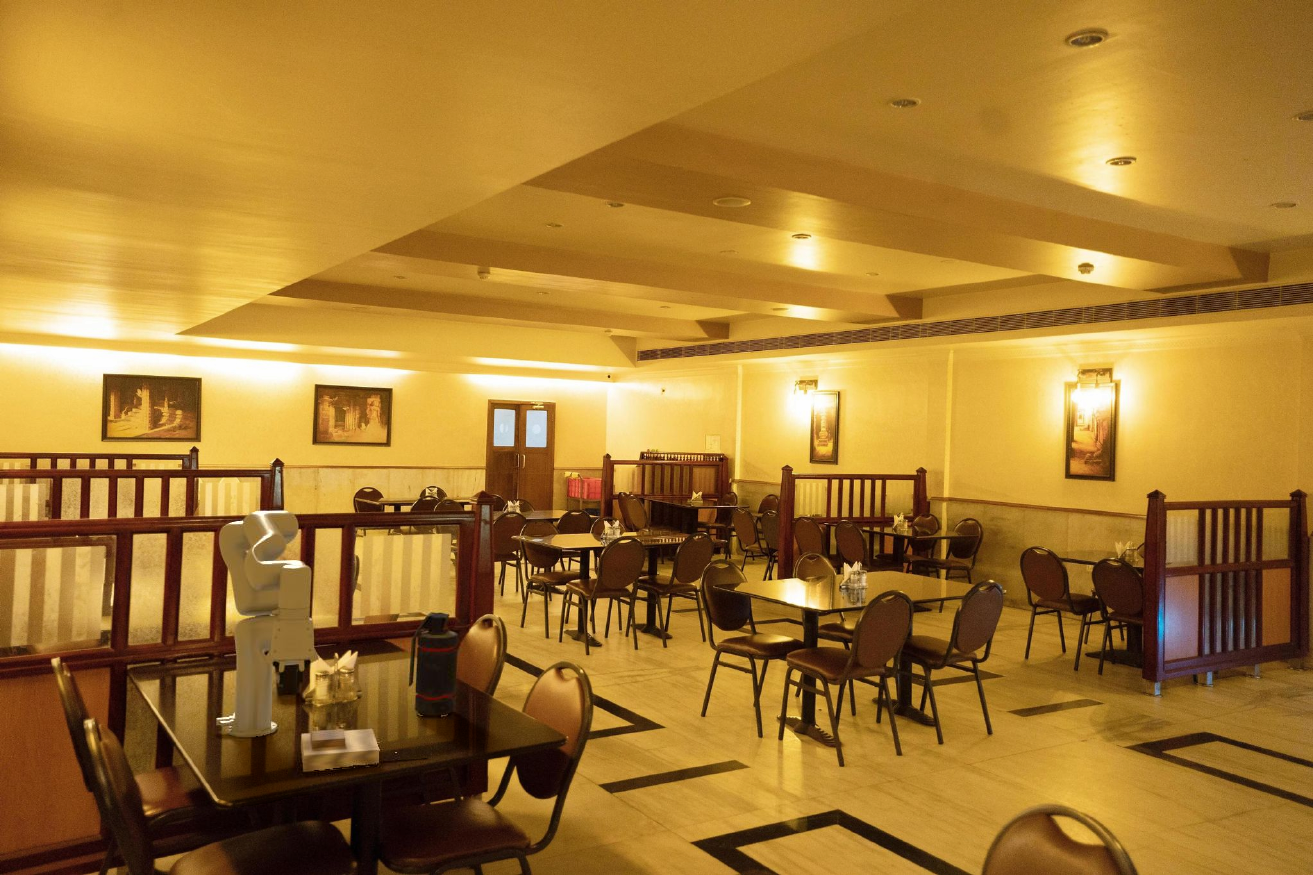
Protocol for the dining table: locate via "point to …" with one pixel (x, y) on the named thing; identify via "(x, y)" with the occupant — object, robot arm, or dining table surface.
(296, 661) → the coffee mug
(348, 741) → the block
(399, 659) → the dining table surface
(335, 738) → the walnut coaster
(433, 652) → the grenade
